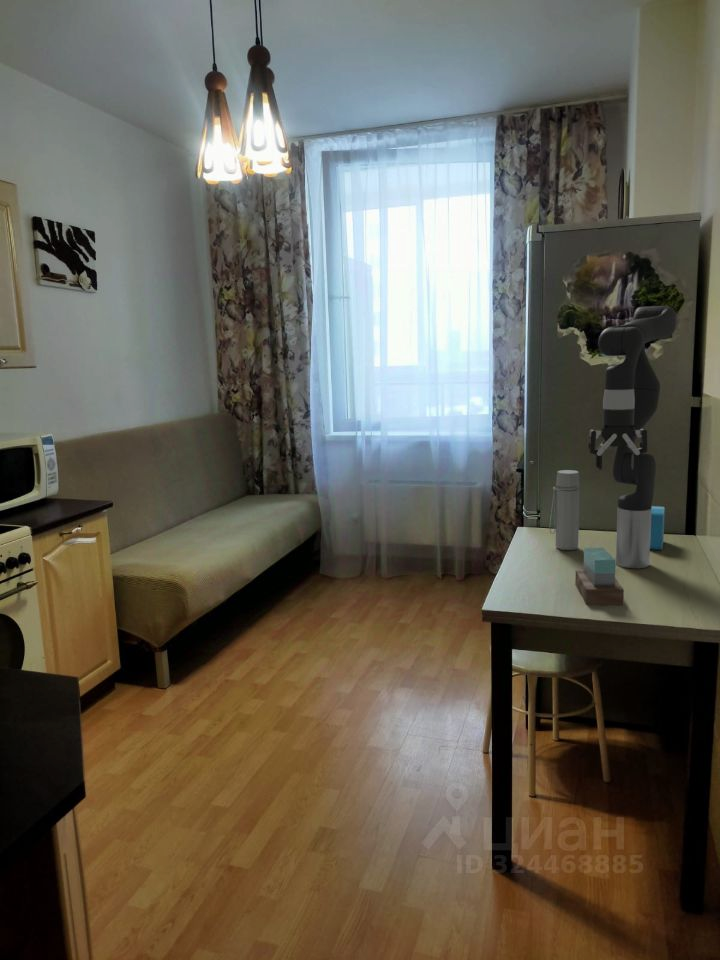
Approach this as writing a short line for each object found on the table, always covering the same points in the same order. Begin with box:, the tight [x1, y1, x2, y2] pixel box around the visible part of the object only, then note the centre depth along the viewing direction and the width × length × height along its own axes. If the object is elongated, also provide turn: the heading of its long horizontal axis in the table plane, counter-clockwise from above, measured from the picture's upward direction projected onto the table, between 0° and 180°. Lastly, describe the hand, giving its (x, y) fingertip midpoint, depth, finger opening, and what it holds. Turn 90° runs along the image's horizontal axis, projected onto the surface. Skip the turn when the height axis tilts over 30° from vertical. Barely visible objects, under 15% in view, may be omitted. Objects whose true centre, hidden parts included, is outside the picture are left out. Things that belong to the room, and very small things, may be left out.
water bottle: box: [548, 469, 581, 551], centre depth 218 cm, size 9×8×25 cm
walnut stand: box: [574, 570, 625, 606], centre depth 178 cm, size 15×9×4 cm, turn 172°
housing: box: [583, 547, 616, 587], centre depth 177 cm, size 5×11×7 cm, turn 176°
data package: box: [650, 505, 666, 551], centre depth 218 cm, size 12×4×12 cm, turn 155°
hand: (616, 469), depth 177 cm, fingers open, 8 cm apart
